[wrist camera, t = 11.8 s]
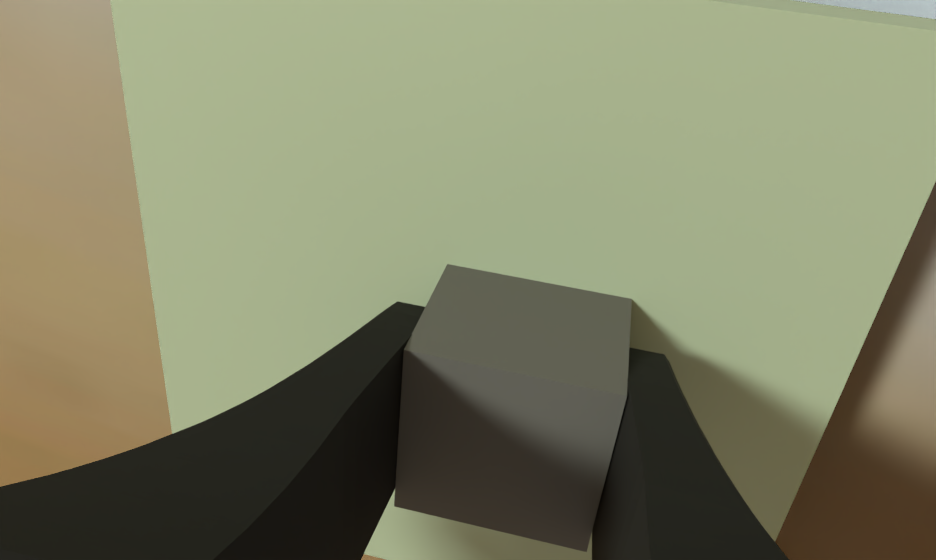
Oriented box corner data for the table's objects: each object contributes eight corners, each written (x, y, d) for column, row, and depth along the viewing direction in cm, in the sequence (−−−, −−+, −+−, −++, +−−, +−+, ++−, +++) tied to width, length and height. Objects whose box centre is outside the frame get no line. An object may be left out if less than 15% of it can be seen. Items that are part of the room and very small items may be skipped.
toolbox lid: (725, 602, 16) (741, 772, 13) (205, 477, 18) (114, 603, 15) (969, 23, 10) (1108, 94, 7) (140, -86, 11) (-40, -66, 8)
